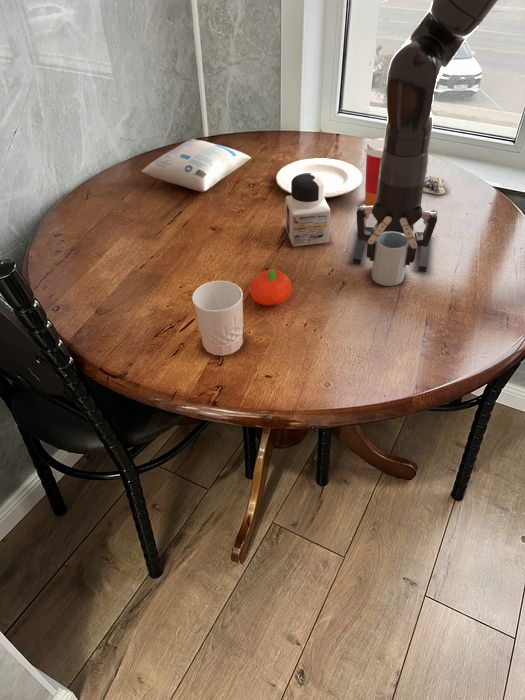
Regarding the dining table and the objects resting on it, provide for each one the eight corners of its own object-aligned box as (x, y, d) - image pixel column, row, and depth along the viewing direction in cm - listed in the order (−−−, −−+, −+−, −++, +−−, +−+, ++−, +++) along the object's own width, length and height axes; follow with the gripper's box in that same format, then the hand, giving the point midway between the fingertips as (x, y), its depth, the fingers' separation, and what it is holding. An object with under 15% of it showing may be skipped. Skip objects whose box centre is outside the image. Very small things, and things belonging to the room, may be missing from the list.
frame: (429, 238, 112) (430, 232, 111) (426, 272, 103) (427, 266, 102) (361, 231, 115) (361, 226, 114) (353, 263, 106) (353, 258, 105)
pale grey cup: (404, 269, 104) (410, 233, 99) (402, 287, 100) (408, 250, 95) (373, 266, 105) (377, 229, 100) (369, 283, 101) (374, 247, 96)
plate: (340, 212, 121) (341, 204, 120) (260, 193, 129) (260, 185, 128) (374, 174, 134) (375, 166, 133) (299, 159, 142) (299, 152, 141)
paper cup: (394, 197, 125) (402, 137, 116) (394, 214, 120) (403, 152, 110) (360, 196, 126) (365, 136, 117) (358, 212, 121) (364, 151, 111)
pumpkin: (241, 302, 99) (239, 273, 94) (270, 282, 103) (269, 253, 98) (271, 318, 95) (270, 289, 91) (299, 296, 99) (300, 267, 95)
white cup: (212, 323, 95) (206, 276, 88) (253, 333, 92) (250, 286, 86) (191, 352, 90) (183, 304, 83) (234, 363, 87) (229, 315, 80)
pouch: (201, 173, 121) (249, 138, 132) (137, 159, 129) (188, 127, 141) (207, 205, 126) (252, 168, 138) (145, 190, 134) (193, 156, 146)
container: (292, 247, 111) (292, 188, 103) (285, 228, 117) (284, 171, 108) (329, 243, 112) (332, 184, 103) (320, 224, 118) (322, 167, 109)
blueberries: (437, 177, 131) (439, 170, 130) (454, 192, 126) (456, 184, 124) (412, 182, 130) (413, 174, 129) (428, 197, 125) (430, 189, 123)
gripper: (355, 181, 88) (348, 267, 99) (447, 188, 85) (429, 276, 96) (361, 162, 93) (353, 246, 104) (447, 168, 90) (430, 253, 101)
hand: (389, 260), depth 100 cm, fingers closed on pale grey cup, 6 cm apart
